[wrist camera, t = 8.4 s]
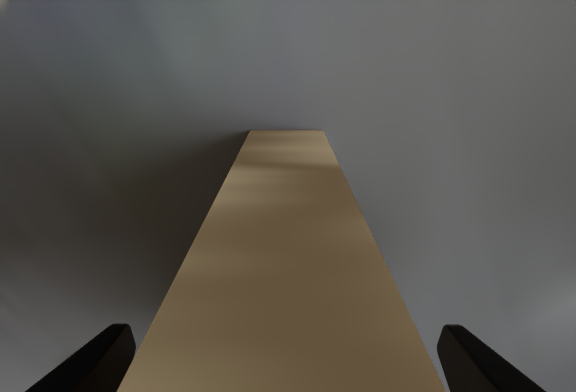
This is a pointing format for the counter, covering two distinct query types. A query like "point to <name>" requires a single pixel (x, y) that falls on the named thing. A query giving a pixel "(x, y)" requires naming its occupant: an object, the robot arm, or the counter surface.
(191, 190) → the counter surface
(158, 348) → the tall beige upright block
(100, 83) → the counter surface
